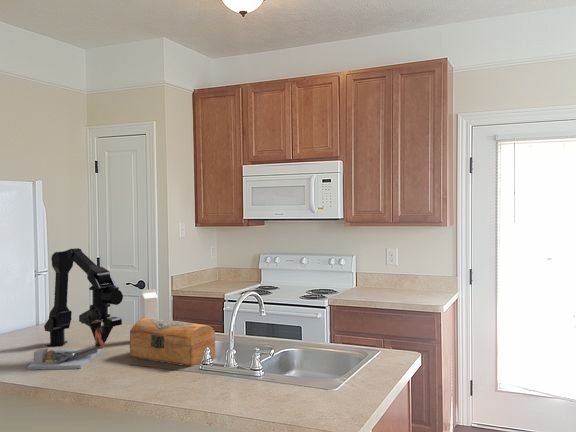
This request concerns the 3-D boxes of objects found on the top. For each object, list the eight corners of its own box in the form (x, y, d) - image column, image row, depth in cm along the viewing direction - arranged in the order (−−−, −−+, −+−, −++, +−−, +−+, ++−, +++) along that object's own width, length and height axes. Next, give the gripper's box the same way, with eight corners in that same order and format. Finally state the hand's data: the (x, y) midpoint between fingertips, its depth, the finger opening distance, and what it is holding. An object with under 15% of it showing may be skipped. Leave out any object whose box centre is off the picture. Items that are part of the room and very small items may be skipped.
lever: (53, 359, 204) (52, 338, 204) (98, 346, 223) (98, 327, 223) (62, 361, 202) (61, 340, 202) (107, 347, 221) (107, 328, 221)
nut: (48, 358, 209) (48, 349, 209) (57, 358, 209) (57, 349, 209) (44, 361, 205) (44, 351, 205) (54, 361, 205) (54, 351, 205)
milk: (140, 339, 243) (139, 289, 243) (154, 337, 246) (153, 288, 246) (145, 342, 238) (143, 291, 238) (159, 340, 241) (157, 289, 241)
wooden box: (127, 358, 215) (126, 322, 214) (157, 348, 229) (156, 314, 229) (188, 368, 200) (187, 330, 200) (216, 357, 214) (215, 321, 214)
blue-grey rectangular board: (52, 352, 224) (52, 339, 224) (101, 351, 225) (100, 338, 225) (27, 369, 200) (26, 355, 200) (81, 368, 201) (81, 354, 201)
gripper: (67, 302, 218) (67, 342, 218) (99, 307, 208) (99, 349, 209) (90, 298, 227) (91, 336, 228) (122, 303, 218) (122, 343, 218)
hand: (100, 341), depth 220 cm, fingers open, 4 cm apart
